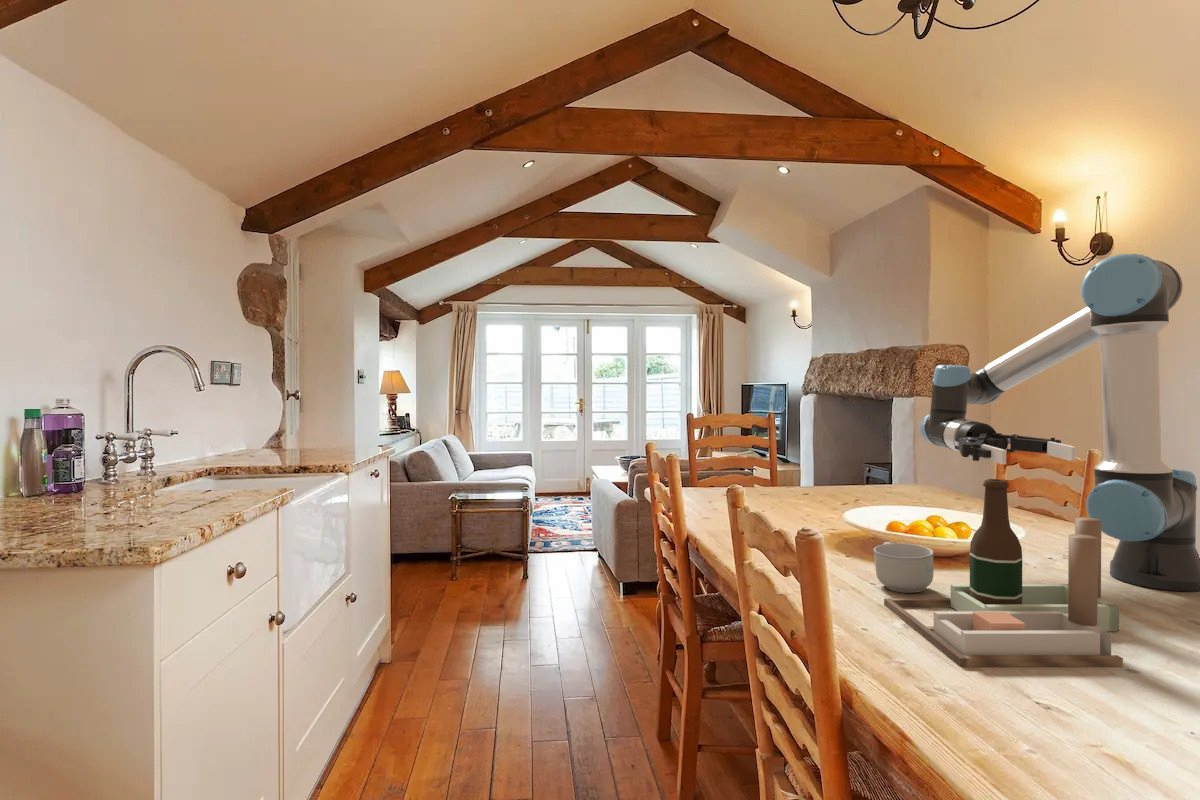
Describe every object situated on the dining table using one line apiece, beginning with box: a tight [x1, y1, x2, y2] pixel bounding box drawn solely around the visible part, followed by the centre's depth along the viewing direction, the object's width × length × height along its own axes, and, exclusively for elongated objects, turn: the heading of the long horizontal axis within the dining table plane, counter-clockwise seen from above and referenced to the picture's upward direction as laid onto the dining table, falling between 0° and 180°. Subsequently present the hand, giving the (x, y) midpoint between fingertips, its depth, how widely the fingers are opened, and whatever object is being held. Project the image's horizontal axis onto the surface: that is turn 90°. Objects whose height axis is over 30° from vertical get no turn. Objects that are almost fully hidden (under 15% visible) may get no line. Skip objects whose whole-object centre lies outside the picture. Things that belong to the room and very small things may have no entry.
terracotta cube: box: [973, 612, 1025, 631], centre depth 100 cm, size 5×5×5 cm
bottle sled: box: [950, 516, 1120, 632], centre depth 112 cm, size 22×12×17 cm, turn 89°
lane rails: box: [883, 597, 1124, 668], centre depth 107 cm, size 23×26×1 cm
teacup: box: [873, 541, 935, 594], centre depth 131 cm, size 14×11×8 cm
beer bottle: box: [969, 478, 1023, 605], centre depth 113 cm, size 8×8×24 cm
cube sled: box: [933, 533, 1112, 655], centre depth 100 cm, size 22×9×17 cm, turn 89°
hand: (1039, 455), depth 124 cm, fingers open, 13 cm apart
